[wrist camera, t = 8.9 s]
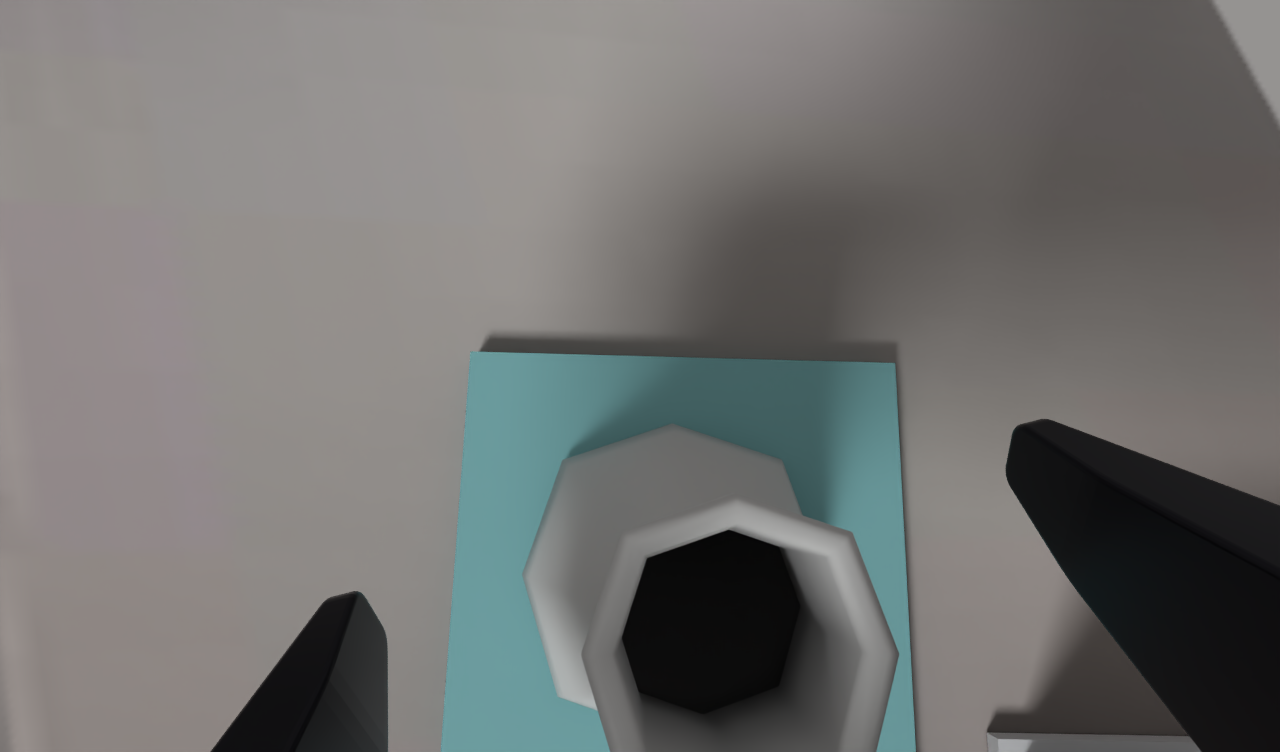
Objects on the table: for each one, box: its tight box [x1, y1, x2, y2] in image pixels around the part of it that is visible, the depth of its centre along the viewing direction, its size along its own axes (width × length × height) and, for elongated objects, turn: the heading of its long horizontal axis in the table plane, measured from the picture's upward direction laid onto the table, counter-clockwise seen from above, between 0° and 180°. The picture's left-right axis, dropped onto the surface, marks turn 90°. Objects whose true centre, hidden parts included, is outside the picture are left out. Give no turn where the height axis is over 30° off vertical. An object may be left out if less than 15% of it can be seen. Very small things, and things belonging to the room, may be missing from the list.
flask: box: [522, 424, 899, 752], centre depth 12 cm, size 7×7×10 cm
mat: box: [441, 352, 916, 752], centre depth 17 cm, size 11×11×1 cm
